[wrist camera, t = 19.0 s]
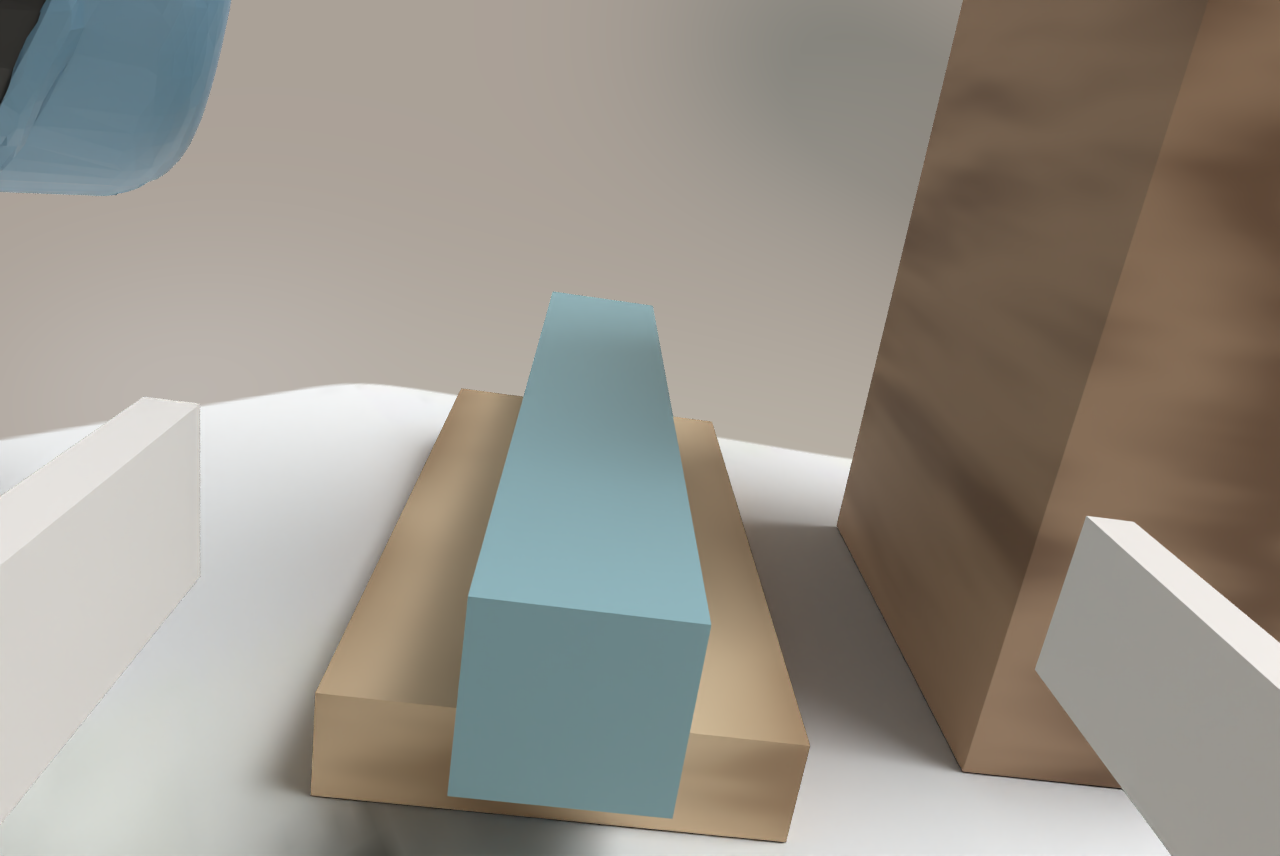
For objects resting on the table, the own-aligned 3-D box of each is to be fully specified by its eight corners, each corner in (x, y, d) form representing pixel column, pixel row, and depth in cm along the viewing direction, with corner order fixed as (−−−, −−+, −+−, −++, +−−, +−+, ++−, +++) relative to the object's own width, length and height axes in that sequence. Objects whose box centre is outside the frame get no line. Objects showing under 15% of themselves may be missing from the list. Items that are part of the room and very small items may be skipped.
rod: (447, 796, 17) (468, 596, 16) (541, 387, 39) (552, 291, 38) (672, 818, 17) (711, 625, 16) (637, 400, 40) (652, 305, 38)
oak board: (311, 794, 20) (315, 693, 19) (455, 447, 39) (461, 388, 38) (785, 841, 21) (810, 745, 20) (701, 478, 39) (711, 421, 39)
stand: (962, 771, 24) (1549, -1073, 13) (836, 525, 37) (1083, -502, 27) (1265, 803, 24) (2052, -935, 14) (1036, 550, 38) (1353, -443, 27)
